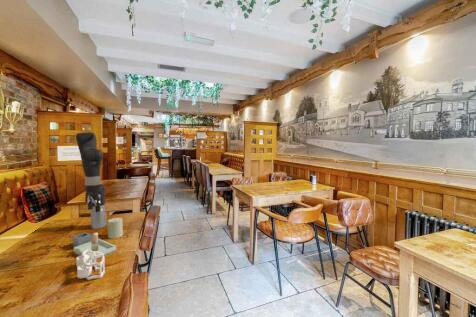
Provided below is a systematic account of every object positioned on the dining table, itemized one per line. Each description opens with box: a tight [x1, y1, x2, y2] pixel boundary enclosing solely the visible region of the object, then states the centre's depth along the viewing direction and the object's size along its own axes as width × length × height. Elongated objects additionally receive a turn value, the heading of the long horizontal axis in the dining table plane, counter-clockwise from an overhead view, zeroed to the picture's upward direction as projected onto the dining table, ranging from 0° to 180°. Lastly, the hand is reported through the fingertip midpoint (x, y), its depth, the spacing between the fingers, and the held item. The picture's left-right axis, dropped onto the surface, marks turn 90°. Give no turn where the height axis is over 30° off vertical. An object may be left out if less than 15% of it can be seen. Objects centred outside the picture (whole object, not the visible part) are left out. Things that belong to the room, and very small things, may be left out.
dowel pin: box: [90, 232, 99, 251], centre depth 124 cm, size 3×3×10 cm
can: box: [107, 217, 124, 240], centre depth 146 cm, size 9×9×12 cm
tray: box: [73, 238, 117, 262], centre depth 124 cm, size 14×20×3 cm
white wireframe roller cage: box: [75, 249, 106, 281], centre depth 105 cm, size 20×11×7 cm, turn 40°
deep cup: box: [72, 232, 92, 248], centre depth 132 cm, size 7×7×6 cm
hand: (94, 210), depth 123 cm, fingers open, 8 cm apart
